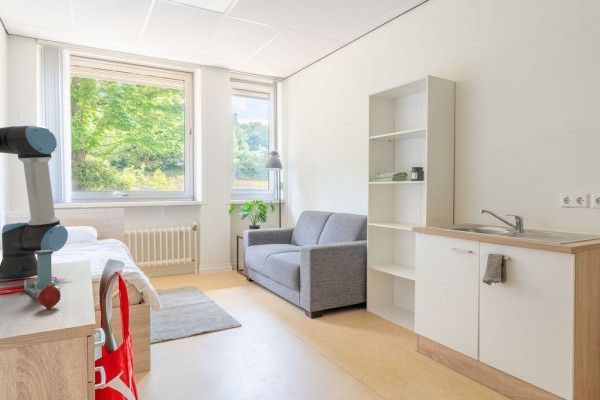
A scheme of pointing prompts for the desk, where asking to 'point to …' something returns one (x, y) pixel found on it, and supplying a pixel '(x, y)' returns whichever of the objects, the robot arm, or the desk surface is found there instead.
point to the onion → (49, 296)
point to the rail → (30, 288)
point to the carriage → (43, 269)
